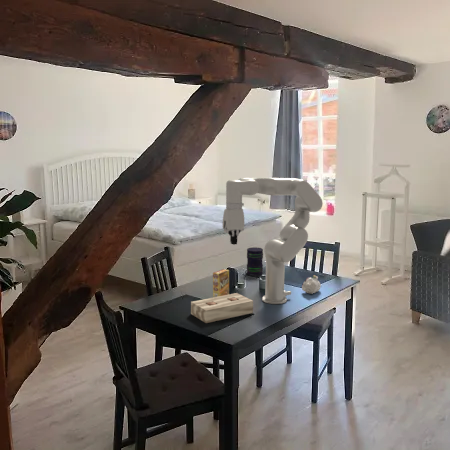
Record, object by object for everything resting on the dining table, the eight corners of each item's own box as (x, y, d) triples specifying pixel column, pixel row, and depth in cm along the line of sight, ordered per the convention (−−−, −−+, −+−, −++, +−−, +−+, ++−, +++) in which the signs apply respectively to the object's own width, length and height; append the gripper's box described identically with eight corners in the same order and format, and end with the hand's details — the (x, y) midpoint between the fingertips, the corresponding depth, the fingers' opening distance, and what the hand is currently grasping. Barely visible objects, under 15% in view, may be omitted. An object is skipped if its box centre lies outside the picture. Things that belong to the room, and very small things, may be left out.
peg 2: (233, 308, 252) (233, 297, 251) (238, 311, 248) (238, 299, 247) (226, 310, 250) (227, 298, 248) (231, 312, 246) (231, 301, 245)
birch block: (191, 314, 245) (191, 301, 244) (236, 304, 258) (236, 292, 257) (206, 323, 233) (206, 310, 232) (252, 312, 247) (253, 300, 246)
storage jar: (265, 271, 319) (265, 248, 316) (259, 275, 310) (259, 251, 307) (250, 270, 323) (250, 246, 320) (244, 274, 314) (244, 250, 311)
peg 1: (212, 313, 245) (212, 301, 244) (217, 315, 242) (217, 303, 241) (205, 314, 243) (205, 303, 242) (209, 317, 240) (209, 305, 239)
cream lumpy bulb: (316, 272, 284) (306, 275, 271) (327, 281, 281) (318, 285, 268) (306, 285, 287) (296, 289, 274) (317, 294, 284) (307, 299, 271)
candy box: (219, 303, 260) (219, 273, 258) (212, 301, 263) (212, 272, 260) (229, 298, 267) (229, 270, 265) (222, 297, 270) (222, 268, 267)
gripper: (242, 204, 252) (242, 240, 255) (216, 206, 244) (216, 244, 247) (251, 206, 246) (251, 243, 249) (225, 208, 238) (224, 247, 241)
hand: (233, 243), depth 248 cm, fingers closed
